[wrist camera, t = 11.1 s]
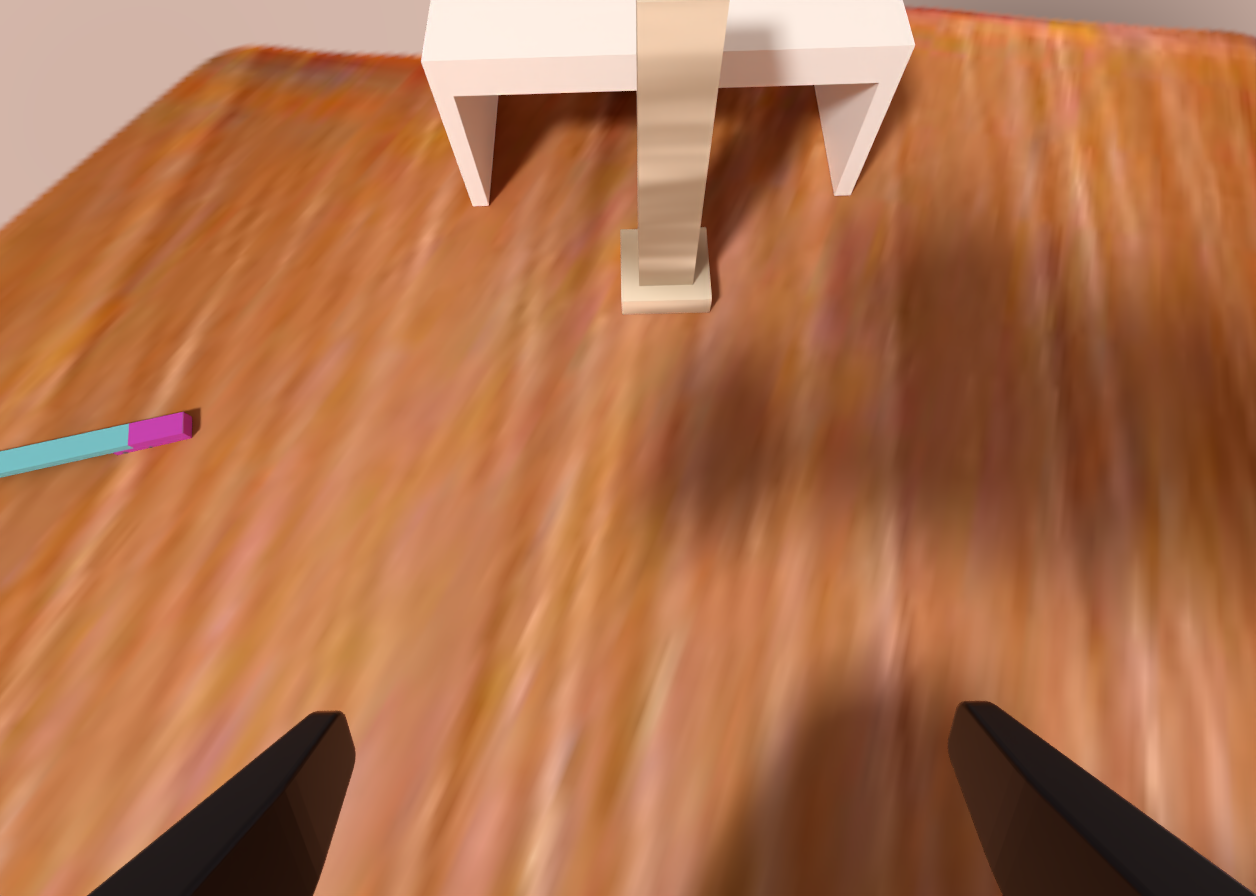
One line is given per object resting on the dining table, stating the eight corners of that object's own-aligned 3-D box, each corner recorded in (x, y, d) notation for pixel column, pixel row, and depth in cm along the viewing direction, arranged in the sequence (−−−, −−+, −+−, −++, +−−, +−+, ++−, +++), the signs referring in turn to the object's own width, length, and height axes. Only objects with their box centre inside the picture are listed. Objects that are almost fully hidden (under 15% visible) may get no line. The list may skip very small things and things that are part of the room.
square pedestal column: (742, 311, 27) (823, 16, 15) (589, 315, 27) (548, 26, 15) (717, 60, 33) (760, -295, 21) (591, 64, 33) (563, -288, 21)
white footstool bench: (850, 195, 30) (915, 45, 23) (472, 206, 30) (421, 61, 23) (828, 80, 32) (879, -84, 25) (484, 91, 33) (441, -68, 26)
